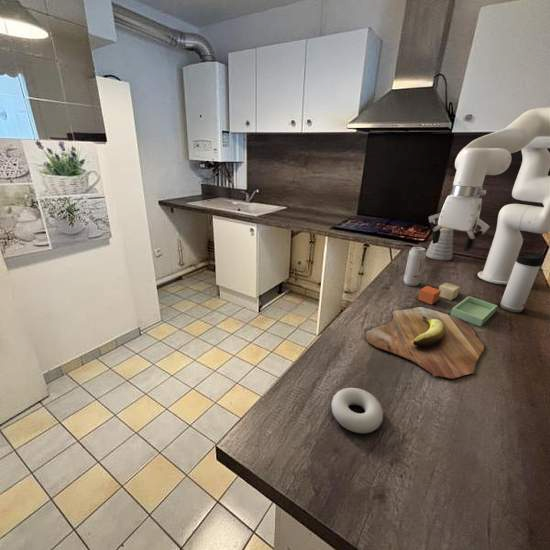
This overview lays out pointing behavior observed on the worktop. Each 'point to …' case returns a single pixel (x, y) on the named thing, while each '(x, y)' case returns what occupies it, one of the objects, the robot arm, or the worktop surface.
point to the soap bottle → (442, 246)
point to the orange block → (429, 295)
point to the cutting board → (430, 341)
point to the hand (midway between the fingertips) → (450, 246)
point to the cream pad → (448, 291)
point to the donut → (355, 420)
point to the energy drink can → (414, 266)
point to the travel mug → (521, 281)
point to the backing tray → (474, 310)
